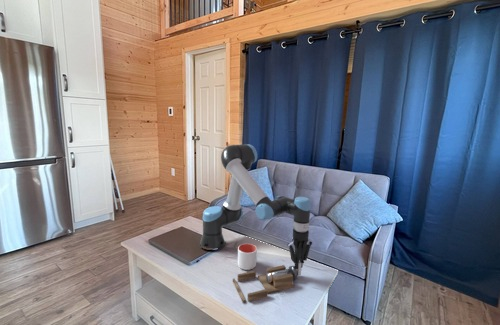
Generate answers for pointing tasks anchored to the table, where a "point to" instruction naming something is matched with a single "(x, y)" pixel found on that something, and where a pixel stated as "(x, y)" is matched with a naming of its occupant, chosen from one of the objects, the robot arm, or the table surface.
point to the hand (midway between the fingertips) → (298, 273)
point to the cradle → (266, 283)
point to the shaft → (282, 273)
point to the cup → (247, 256)
